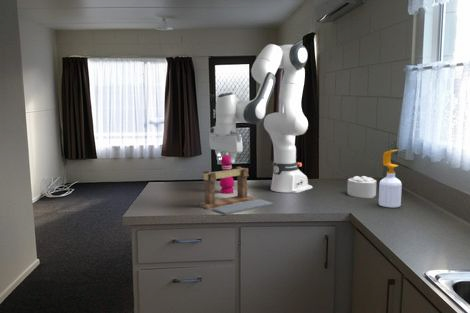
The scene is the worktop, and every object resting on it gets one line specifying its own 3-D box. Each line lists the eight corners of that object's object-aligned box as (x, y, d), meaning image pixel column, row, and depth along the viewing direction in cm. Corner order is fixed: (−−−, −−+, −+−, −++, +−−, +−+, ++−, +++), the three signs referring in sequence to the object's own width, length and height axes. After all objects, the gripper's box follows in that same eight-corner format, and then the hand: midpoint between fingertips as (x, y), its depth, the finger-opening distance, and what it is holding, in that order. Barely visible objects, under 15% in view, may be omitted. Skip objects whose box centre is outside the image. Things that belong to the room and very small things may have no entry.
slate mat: (259, 200, 198) (259, 199, 198) (272, 204, 191) (272, 202, 191) (212, 210, 183) (212, 208, 183) (225, 214, 176) (225, 212, 176)
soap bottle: (390, 208, 183) (392, 151, 180) (374, 204, 191) (376, 148, 188) (405, 206, 187) (408, 149, 184) (388, 201, 195) (391, 147, 192)
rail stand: (243, 197, 205) (243, 166, 203) (252, 200, 200) (252, 167, 198) (198, 205, 190) (198, 172, 188) (207, 209, 185) (207, 174, 183)
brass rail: (243, 173, 201) (243, 167, 201) (247, 174, 199) (247, 168, 198) (203, 179, 188) (203, 173, 187) (207, 180, 185) (207, 174, 185)
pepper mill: (232, 194, 212) (232, 153, 209) (218, 193, 213) (217, 153, 211) (235, 190, 219) (235, 151, 216) (221, 190, 220) (221, 151, 218)
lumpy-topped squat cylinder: (372, 198, 202) (372, 180, 200) (344, 195, 208) (345, 177, 207) (377, 194, 211) (378, 176, 209) (350, 191, 217) (351, 174, 216)
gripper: (246, 131, 184) (245, 163, 186) (218, 128, 200) (218, 158, 202) (234, 132, 180) (234, 164, 182) (206, 129, 196) (206, 159, 198)
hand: (225, 161), depth 192 cm, fingers open, 8 cm apart
